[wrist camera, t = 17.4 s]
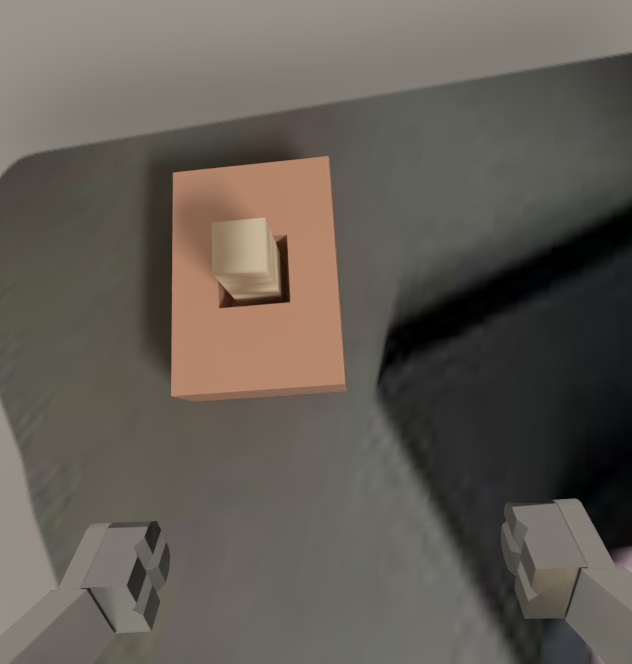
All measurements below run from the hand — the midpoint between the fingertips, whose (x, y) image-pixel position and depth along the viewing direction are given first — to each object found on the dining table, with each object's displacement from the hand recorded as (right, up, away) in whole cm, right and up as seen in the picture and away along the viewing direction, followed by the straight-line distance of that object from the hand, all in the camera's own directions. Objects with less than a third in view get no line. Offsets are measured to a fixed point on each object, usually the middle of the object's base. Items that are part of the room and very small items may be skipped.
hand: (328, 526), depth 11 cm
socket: (-5, +9, +35) cm, 36 cm away
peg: (-5, +9, +34) cm, 35 cm away
